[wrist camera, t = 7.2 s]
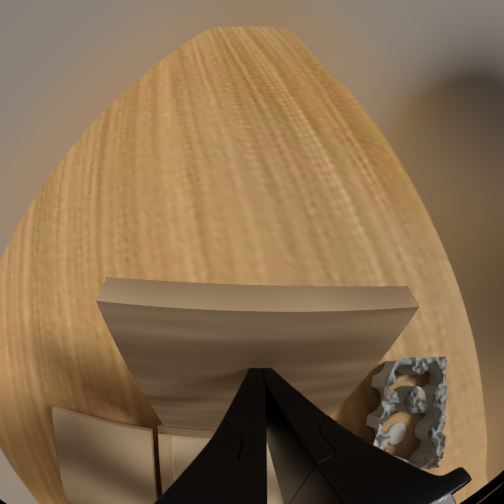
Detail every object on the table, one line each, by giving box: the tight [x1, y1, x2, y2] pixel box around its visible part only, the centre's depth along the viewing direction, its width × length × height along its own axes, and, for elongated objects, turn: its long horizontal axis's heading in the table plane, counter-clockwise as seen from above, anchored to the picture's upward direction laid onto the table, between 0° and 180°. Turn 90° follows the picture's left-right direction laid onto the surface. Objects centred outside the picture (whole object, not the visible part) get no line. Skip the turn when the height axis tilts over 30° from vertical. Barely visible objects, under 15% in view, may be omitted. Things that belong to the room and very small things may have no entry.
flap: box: [96, 277, 419, 430], centre depth 11 cm, size 1×10×12 cm, turn 90°
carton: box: [52, 406, 284, 504], centre depth 14 cm, size 10×20×2 cm, turn 90°
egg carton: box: [366, 357, 447, 470], centre depth 16 cm, size 11×8×4 cm
